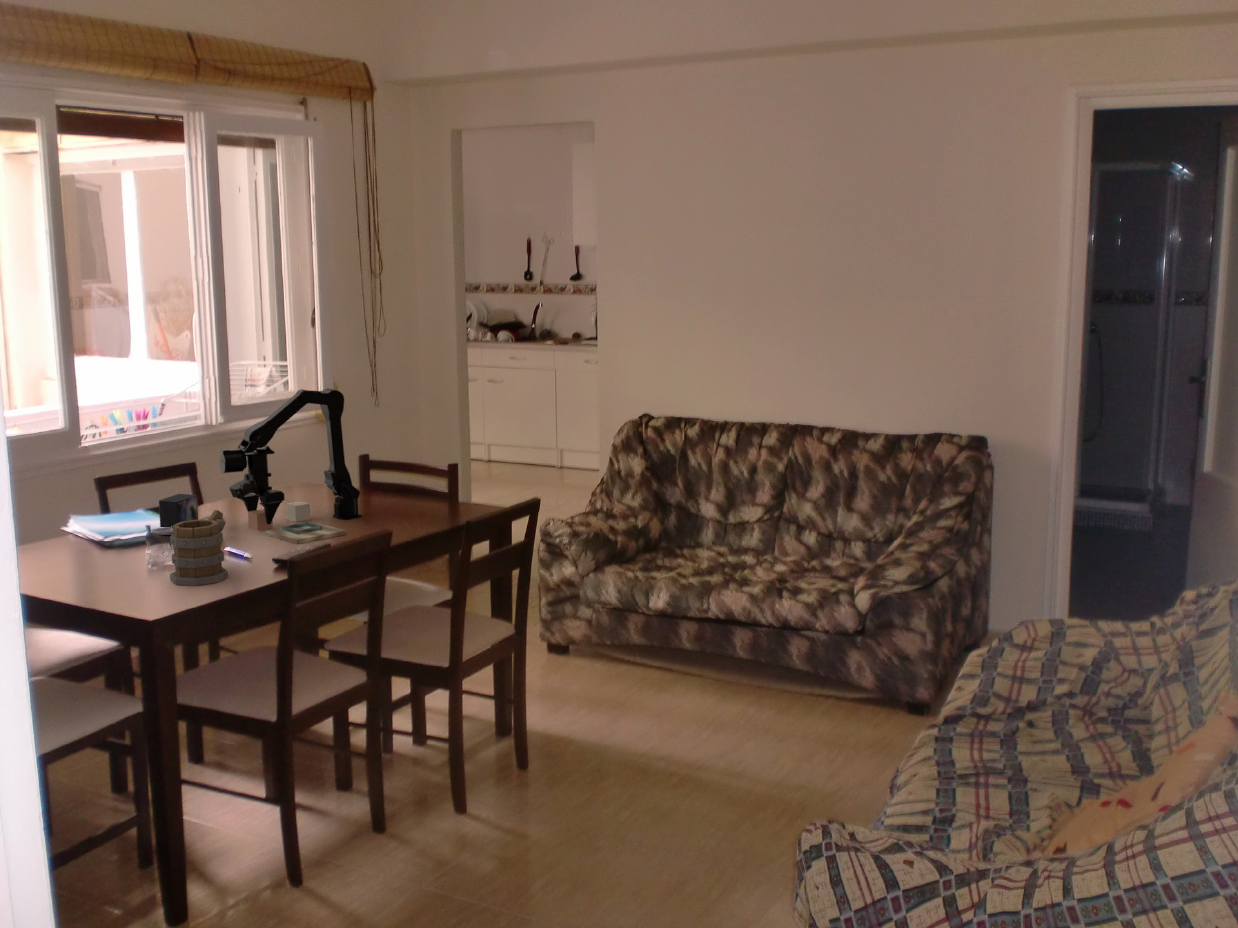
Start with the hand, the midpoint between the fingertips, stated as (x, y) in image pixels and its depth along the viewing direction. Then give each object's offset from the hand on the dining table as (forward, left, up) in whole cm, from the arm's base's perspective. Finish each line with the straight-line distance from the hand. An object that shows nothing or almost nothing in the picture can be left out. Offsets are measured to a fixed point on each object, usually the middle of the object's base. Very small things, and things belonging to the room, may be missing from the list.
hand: (260, 521), depth 341 cm
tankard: (+37, +38, -2) cm, 53 cm away
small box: (+19, -12, -2) cm, 23 cm away
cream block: (-14, -2, -2) cm, 14 cm away
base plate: (-4, +18, -2) cm, 19 cm away
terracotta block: (0, 0, -2) cm, 2 cm away
